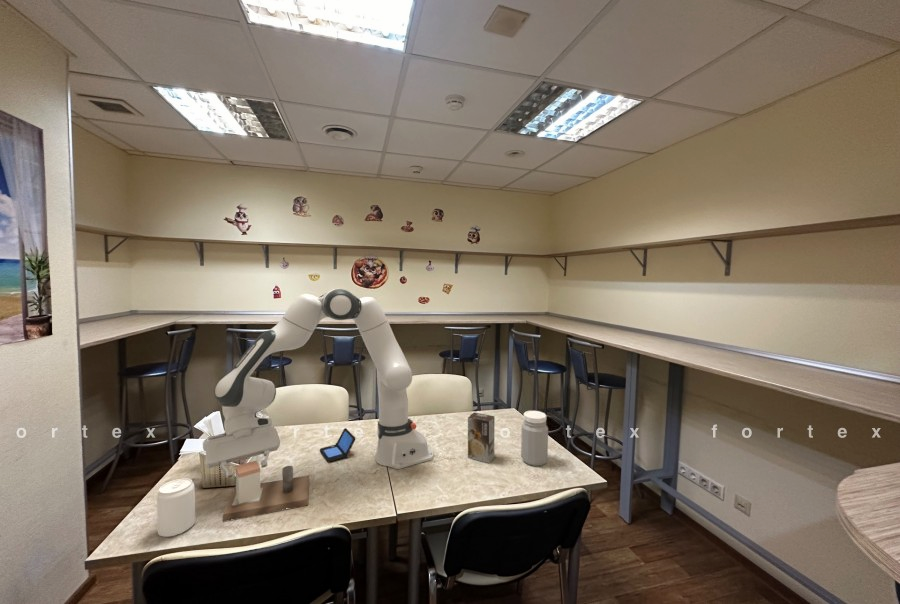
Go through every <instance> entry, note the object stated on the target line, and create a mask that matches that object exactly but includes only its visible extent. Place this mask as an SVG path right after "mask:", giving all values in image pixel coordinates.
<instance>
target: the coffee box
mask: <svg viewBox="0 0 900 604" xmlns="http://www.w3.org/2000/svg"><path fill="white" fill-rule="evenodd" d="M467 458H468V459H469V460H470V459H471V460H475V461H479V462H483V463H487V464H490V463H491V462H492V460H494V458H495V416H494V415H489V414H483V413H478V412H473V413H471V414H470V415H469V416H468V417H467Z"/></svg>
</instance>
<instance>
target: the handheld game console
mask: <svg viewBox="0 0 900 604" xmlns="http://www.w3.org/2000/svg"><path fill="white" fill-rule="evenodd" d="M355 441H356V437H355V435H353V433H351V432H350V430H349V429H348V428H347V427H346V428H344V429H343V430H342V432H341V434H340V436H339V438H338V440H337V442H336V443H335V444H332V445H329V446H324V447H321V448H320V449H319V452H320V453H321V455H322V456H323V458H324V459H325V461H326V463H328V464H332V463H335V462H339V461H342V460H347V459H348V455H349V454H350V451H351V449H352V447H353V446H354V444H355Z"/></svg>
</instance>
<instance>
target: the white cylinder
mask: <svg viewBox="0 0 900 604" xmlns="http://www.w3.org/2000/svg"><path fill="white" fill-rule="evenodd" d="M195 489H196V487H195V483H194V482H193V480H192V478H188V477H185V478H178V479H173V480H171V481H168V482H166V483H163V485H161V486H160V487H159V489H158V492H157V493H156V515H157V516H156V519H157V521H156V522H157V533H158V535H159V536H160V537H174V536H177V534H178V535H180V534H182V533H185V532H186V531H188V530H189V529H190V528H192V527H193V525H195V523H196V494H195V491H196V490H195Z"/></svg>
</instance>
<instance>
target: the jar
mask: <svg viewBox="0 0 900 604" xmlns="http://www.w3.org/2000/svg"><path fill="white" fill-rule="evenodd" d="M520 434H521V436H520V437H521V440H520V441H521V442H520V443H521V446H520V447H521V448H520V449H521V451H520V457H521V459H522V460H523V462H524V463H525V464H527V465H529V466H533V467H541V466H543V465H545V464H546V463H547V461H548V457H549V456H548V453H549V452H548V449H549V447H548V446H549V427H548V425H547V414H546V413H545V412H542V411H540V410H527V411H525V412H523V423H522V424H521V433H520Z"/></svg>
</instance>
